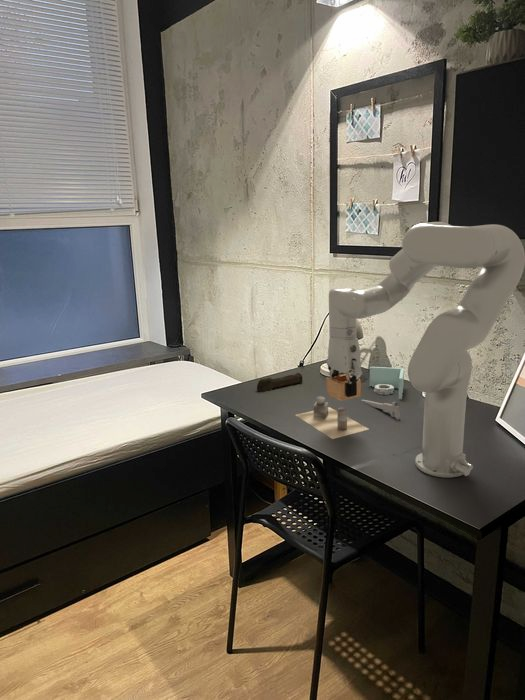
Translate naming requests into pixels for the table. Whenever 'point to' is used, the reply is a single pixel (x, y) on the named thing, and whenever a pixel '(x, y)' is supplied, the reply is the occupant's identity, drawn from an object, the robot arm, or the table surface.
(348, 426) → the board
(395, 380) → the l-shaped corner panel
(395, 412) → the caliper
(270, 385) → the hand tool
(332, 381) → the collar
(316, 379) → the table surface
